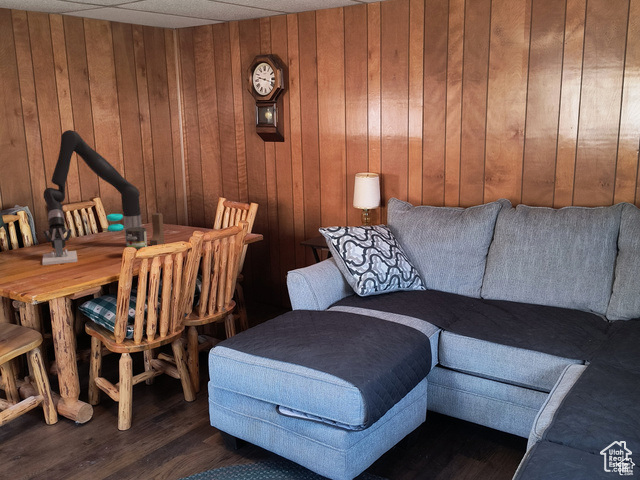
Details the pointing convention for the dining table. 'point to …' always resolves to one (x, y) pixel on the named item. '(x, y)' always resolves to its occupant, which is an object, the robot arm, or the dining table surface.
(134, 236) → the coffee can
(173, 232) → the dining table surface
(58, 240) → the block
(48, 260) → the grey peg board
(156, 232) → the wooden block
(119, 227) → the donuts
